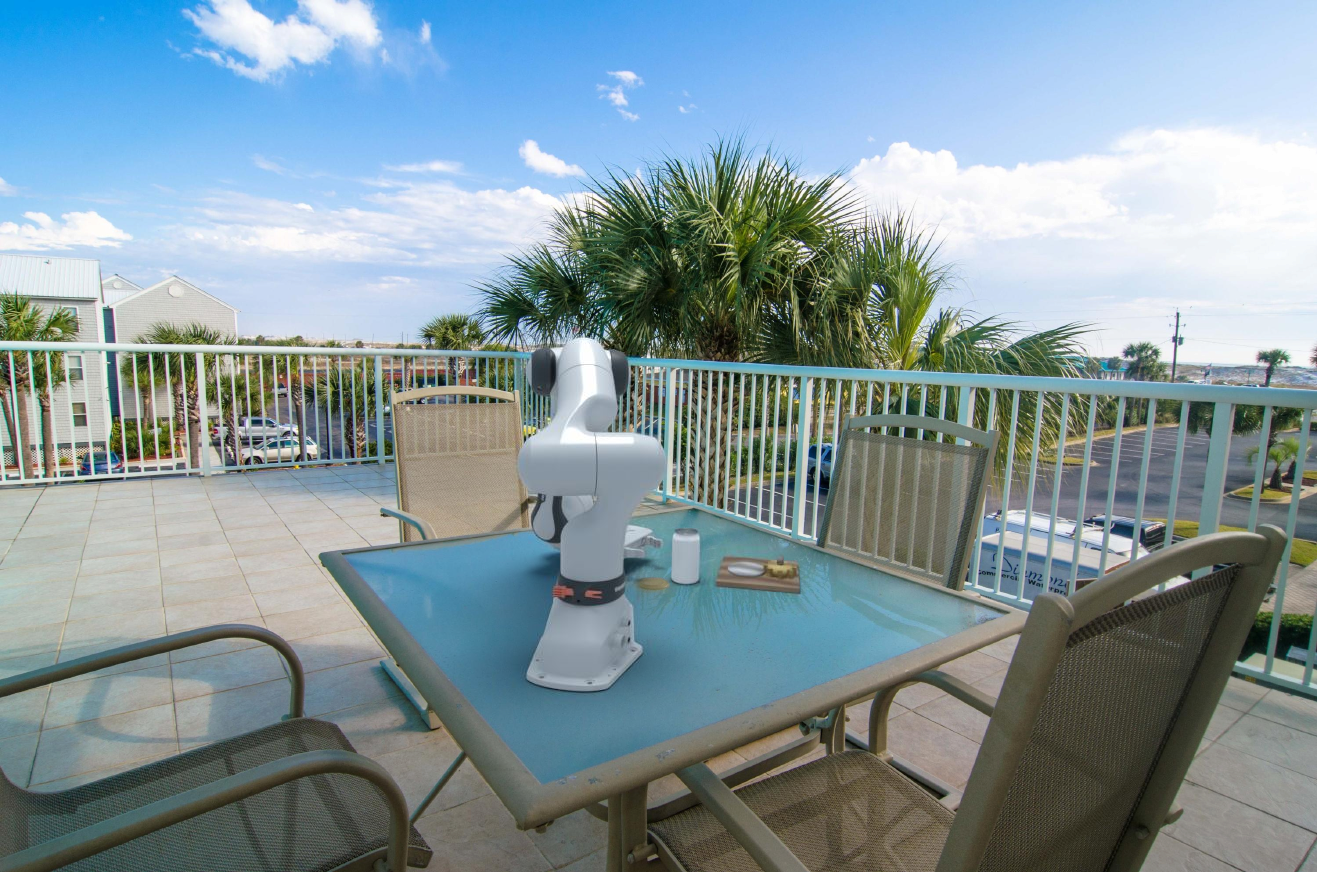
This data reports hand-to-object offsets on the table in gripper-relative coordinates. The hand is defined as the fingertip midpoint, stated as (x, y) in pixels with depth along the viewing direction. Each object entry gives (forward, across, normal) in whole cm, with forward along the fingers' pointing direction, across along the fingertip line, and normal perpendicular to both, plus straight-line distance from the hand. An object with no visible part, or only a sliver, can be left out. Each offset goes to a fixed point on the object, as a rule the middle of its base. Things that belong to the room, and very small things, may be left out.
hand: (653, 548), depth 156 cm
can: (+8, 0, +7) cm, 11 cm away
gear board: (+23, +12, +6) cm, 27 cm away
